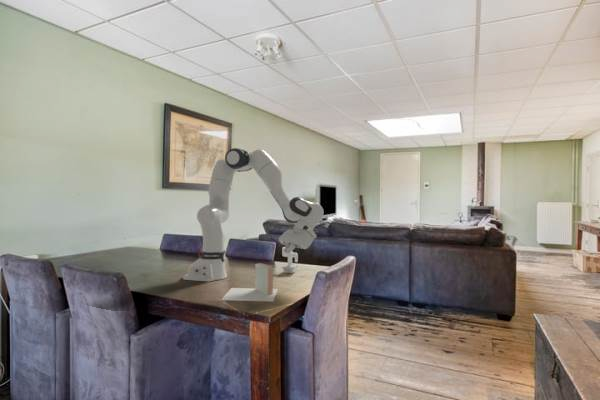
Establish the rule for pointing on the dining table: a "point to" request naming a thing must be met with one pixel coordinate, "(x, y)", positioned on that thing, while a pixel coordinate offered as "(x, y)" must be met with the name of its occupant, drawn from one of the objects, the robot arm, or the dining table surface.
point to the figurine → (289, 261)
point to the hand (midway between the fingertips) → (285, 252)
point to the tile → (264, 278)
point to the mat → (248, 295)
